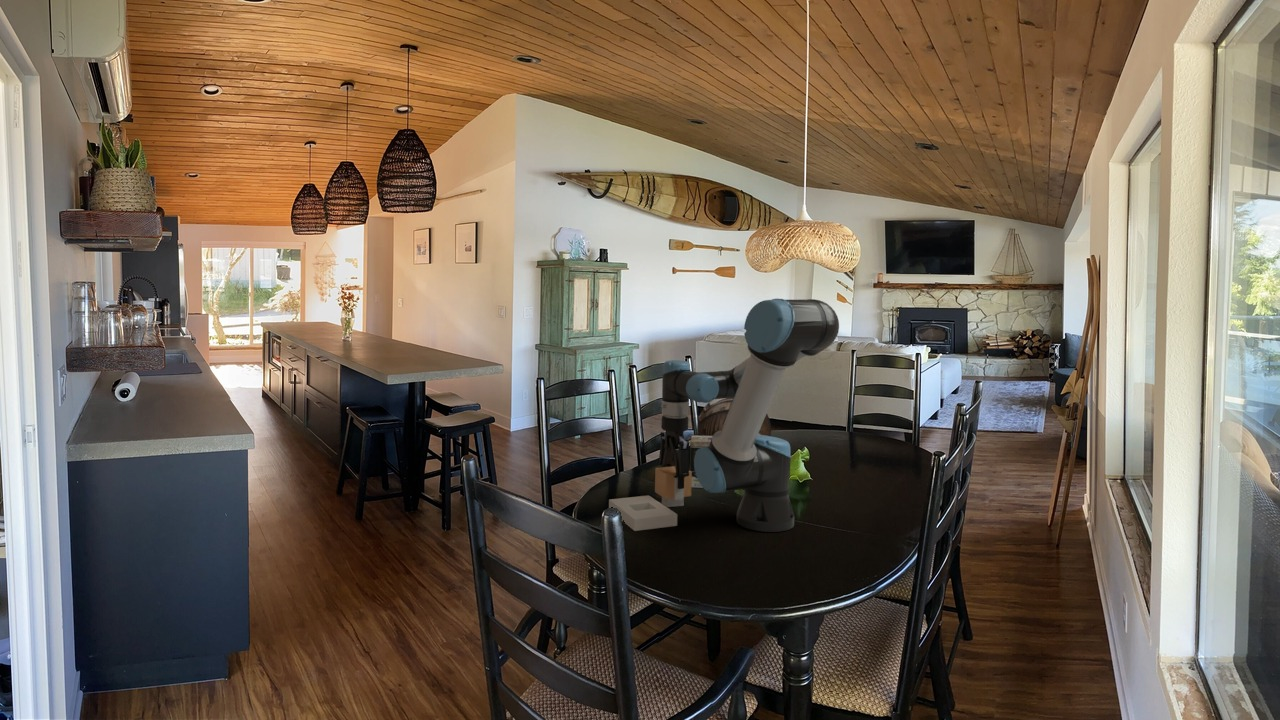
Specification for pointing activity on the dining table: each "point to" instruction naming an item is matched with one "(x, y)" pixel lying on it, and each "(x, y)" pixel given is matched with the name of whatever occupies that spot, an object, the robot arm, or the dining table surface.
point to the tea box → (695, 444)
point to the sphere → (722, 418)
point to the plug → (670, 485)
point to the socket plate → (644, 513)
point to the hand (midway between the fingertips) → (672, 495)
